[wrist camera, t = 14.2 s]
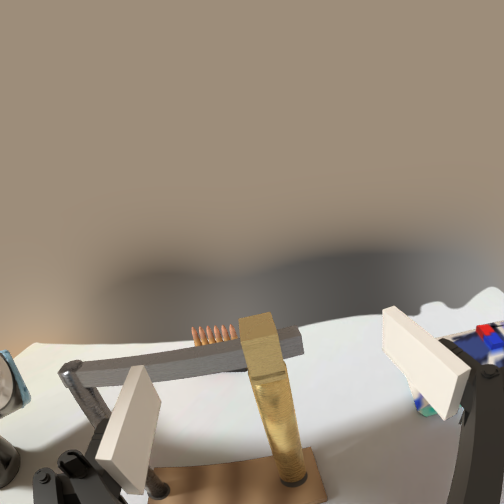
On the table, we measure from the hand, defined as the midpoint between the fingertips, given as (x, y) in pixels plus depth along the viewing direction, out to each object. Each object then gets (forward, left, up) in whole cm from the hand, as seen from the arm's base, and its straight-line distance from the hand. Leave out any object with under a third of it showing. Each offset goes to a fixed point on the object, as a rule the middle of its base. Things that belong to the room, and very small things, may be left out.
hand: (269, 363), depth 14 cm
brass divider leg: (-7, +7, -28) cm, 30 cm away
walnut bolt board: (-13, +2, -30) cm, 33 cm away
